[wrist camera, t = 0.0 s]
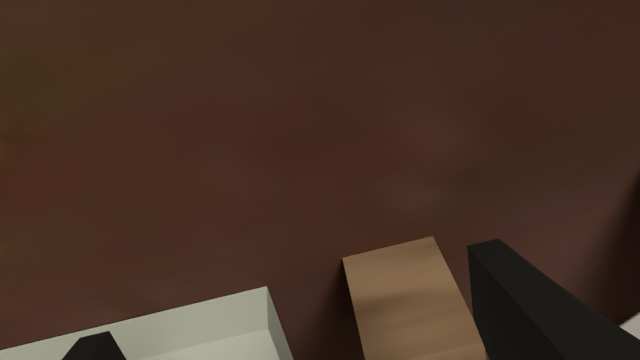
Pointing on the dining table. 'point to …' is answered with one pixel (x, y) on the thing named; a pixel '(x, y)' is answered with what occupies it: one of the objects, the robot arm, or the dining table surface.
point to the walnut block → (410, 305)
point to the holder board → (185, 333)
